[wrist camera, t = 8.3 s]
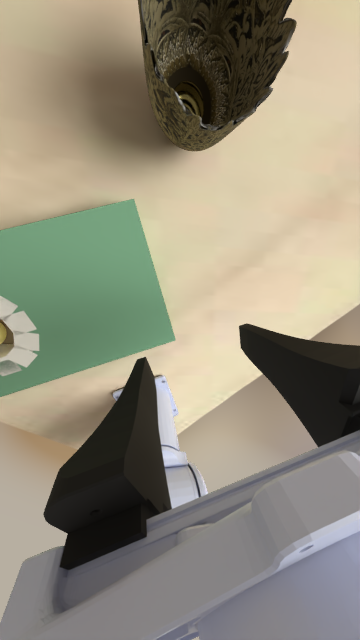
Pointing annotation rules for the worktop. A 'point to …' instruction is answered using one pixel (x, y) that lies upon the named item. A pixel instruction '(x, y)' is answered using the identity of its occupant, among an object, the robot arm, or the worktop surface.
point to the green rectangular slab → (77, 295)
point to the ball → (2, 333)
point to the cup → (211, 63)
